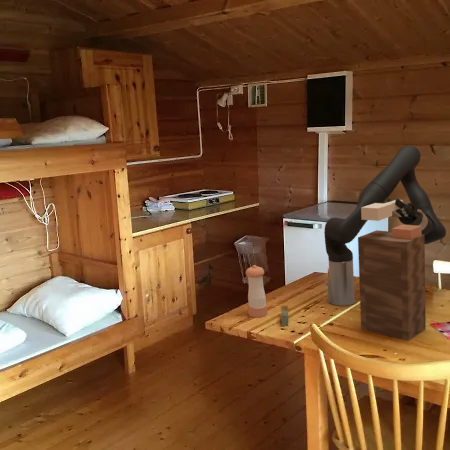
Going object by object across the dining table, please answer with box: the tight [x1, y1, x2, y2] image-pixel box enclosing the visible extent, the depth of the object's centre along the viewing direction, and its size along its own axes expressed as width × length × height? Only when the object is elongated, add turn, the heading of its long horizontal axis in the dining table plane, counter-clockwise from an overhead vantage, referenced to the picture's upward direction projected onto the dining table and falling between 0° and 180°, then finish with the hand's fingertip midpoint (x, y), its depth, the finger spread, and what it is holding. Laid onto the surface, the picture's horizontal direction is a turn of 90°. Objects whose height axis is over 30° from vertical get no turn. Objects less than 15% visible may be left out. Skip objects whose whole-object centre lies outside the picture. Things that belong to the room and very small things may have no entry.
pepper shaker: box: [245, 264, 268, 318], centre depth 206 cm, size 7×7×19 cm
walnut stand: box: [357, 229, 427, 342], centre depth 180 cm, size 12×17×32 cm
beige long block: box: [361, 199, 404, 222], centre depth 182 cm, size 20×6×4 cm, turn 135°
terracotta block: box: [391, 224, 422, 240], centre depth 174 cm, size 7×6×3 cm
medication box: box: [280, 305, 289, 328], centre depth 198 cm, size 12×3×4 cm, turn 174°
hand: (392, 201), depth 185 cm, fingers closed on beige long block, 2 cm apart
